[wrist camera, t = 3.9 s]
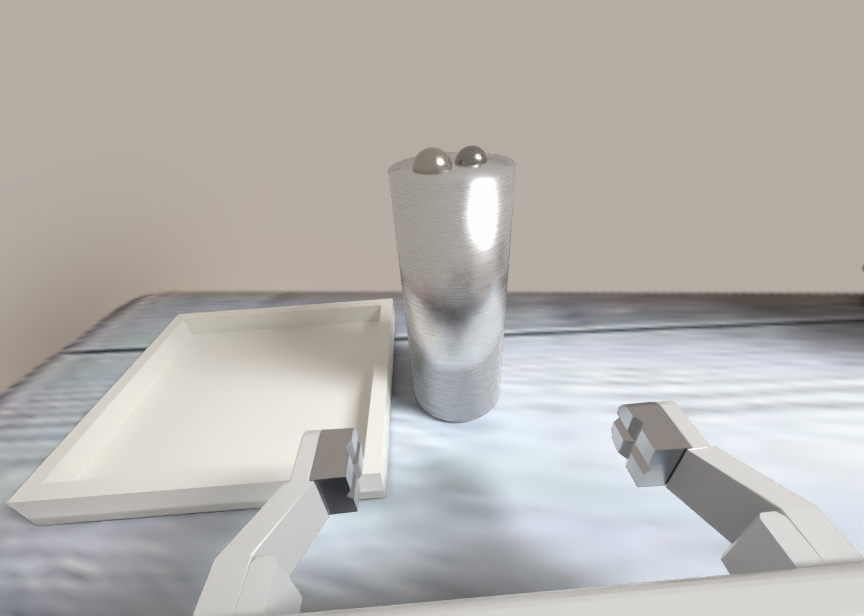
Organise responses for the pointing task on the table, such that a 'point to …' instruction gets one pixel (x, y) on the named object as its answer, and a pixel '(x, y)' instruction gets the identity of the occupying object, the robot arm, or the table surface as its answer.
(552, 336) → the table surface
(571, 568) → the table surface
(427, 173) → the metal cup with balls
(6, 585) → the table surface
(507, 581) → the table surface
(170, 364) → the cream tray
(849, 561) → the robot arm
